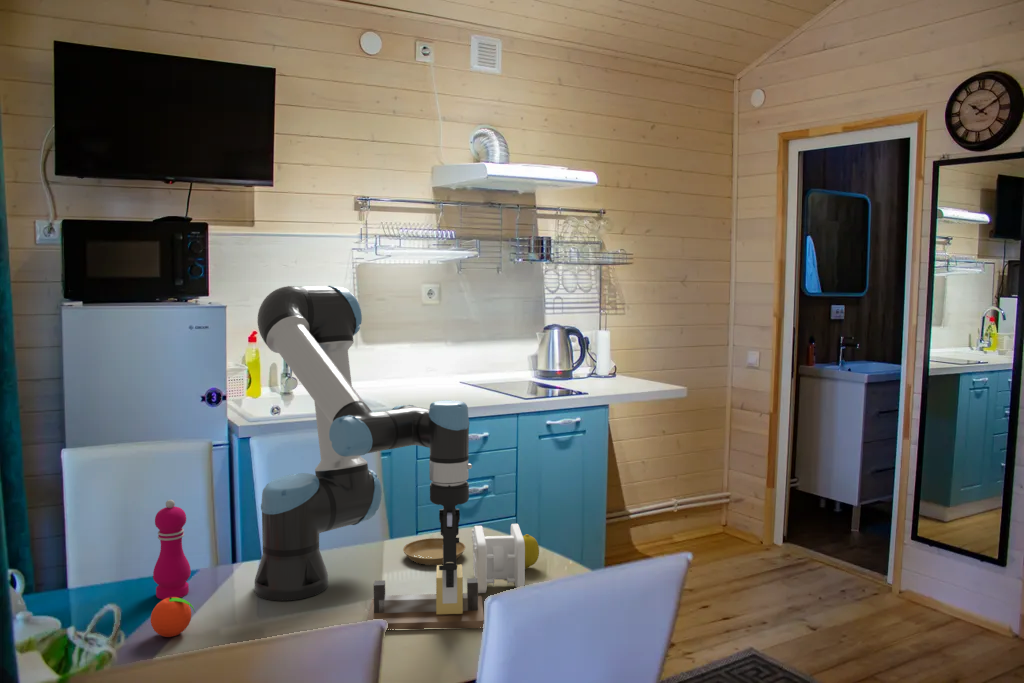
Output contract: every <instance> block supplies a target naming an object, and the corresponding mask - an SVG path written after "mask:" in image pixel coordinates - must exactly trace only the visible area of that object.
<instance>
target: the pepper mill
mask: <svg viewBox="0 0 1024 683" xmlns="http://www.w3.org/2000/svg"><path fill="white" fill-rule="evenodd" d="M175 505H176V503H175V500H173V499H168V500H167V501H166V502H165V507H163V508H162V509H160V510H158V512H157V513H156V514H155V517H154V525H155V527H156V528H157V529H158V531H157V534H158V536H157V539H158V540H160V551H159V555H158V558H157V560H156V562H155V564H154V567H153V572H152V573H153V574H152V578H153V581H154V583H156V584H157V586H155V596H156V598H157V599H159V600H163V599H166V598H169V597H178V598H183V597H185V596H186V595H188V594H189V591H190V587H189V586H190V585H189V582H188V579H190V577H191V573H192V571H191V570H192V569H191V565H190V563H189V561H188V559H187V557H186V554H185V553H184V549H183V537H185V529H184V526H185V525H186V522H187V515H186V512H185V511H184V509H183V508H181V507H179V506H175Z"/></svg>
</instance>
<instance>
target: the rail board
mask: <svg viewBox="0 0 1024 683" xmlns="http://www.w3.org/2000/svg"><path fill="white" fill-rule="evenodd" d="M466 579H467V581H466V582H467V584H466V586H467V587H466V588H467V589H466V591H467V592H466V593H464V592H463V614H436V593H430V594H429V593H428V594H424V593H423V594H422V593H421V594H392V595H391V594H390V595H389V594H388V595H387V594H386V580H374V583H373V598H371V602H370V606H369V610H368V614H367V619H366V621H367V620H373V619H383V620H386V621H387V623H388V628H387V630H388V629H389V630H390V629H391V630H392V629H394V630H395V629H424V628H478V629H483V628H482V627H483V620H484V621H485V616H484V608H483V597H482V595H479V593H478V578H475V577H474V578H473V577H472V578H466ZM480 627H481V628H480Z"/></svg>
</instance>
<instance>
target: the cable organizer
mask: <svg viewBox="0 0 1024 683" xmlns="http://www.w3.org/2000/svg"><path fill="white" fill-rule="evenodd" d="M523 536H524V535H523V533H522V531H521V528H520V525H519V524H518V523H511V525H510V535H491V536H490V535H489V536H487V535H485V531H484V527H483V526H482V525H474V526H473V528H471V539H472V540H471V542H472V553H473V554H472V557H473V558H472V559H473V563H472V564H473V565H472V566H473V568H472V569H473V575H474V578H478V594H486V593H487V588H488V584H492V585H493V586H492V587H494V586H495V580H506V582H507V585H509V583H514V585H515V589H516V588H517V587H520V586H524V585H525V583H526V580H525V578H526V577H525V576H526V575H525V574H526V571H525V570H526V568H525V543H524V538H523ZM524 587H525V586H524Z"/></svg>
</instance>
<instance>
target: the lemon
mask: <svg viewBox="0 0 1024 683" xmlns="http://www.w3.org/2000/svg"><path fill="white" fill-rule="evenodd" d="M522 536H523V538H524V543H525V570H526V569H527V570H528V569H529V568H530V567H531V566H534V565H535V564H536V562H537V561H538V560H539V556H540V555H539V554H540V547H539V543H538V541H537V539H536V538H535V537H533V536H532V535H530V534H527V533H526V534H524V535H522Z"/></svg>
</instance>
